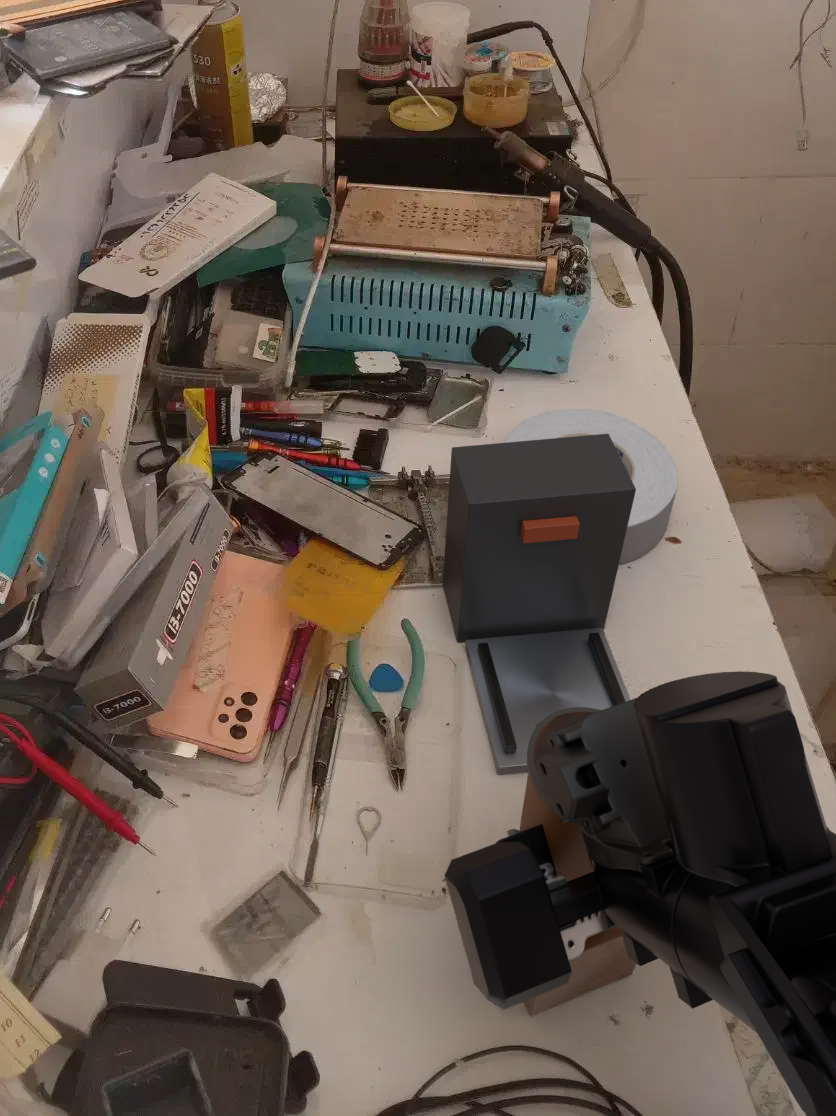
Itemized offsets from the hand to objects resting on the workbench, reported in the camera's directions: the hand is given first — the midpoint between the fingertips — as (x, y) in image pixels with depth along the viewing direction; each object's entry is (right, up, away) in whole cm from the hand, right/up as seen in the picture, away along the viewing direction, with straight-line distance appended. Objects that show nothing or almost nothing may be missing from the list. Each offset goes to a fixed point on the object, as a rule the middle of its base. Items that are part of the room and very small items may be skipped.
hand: (562, 819), depth 56 cm
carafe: (+1, -5, +2) cm, 5 cm away
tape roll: (+12, +13, +35) cm, 39 cm away
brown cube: (+1, -10, +6) cm, 12 cm away
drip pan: (+5, 0, +19) cm, 20 cm away
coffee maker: (+4, +6, +27) cm, 27 cm away
